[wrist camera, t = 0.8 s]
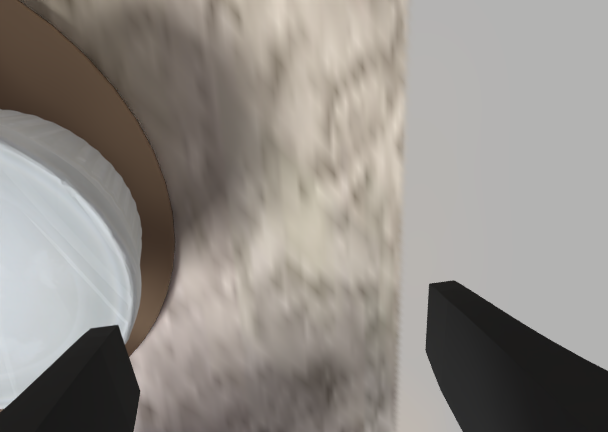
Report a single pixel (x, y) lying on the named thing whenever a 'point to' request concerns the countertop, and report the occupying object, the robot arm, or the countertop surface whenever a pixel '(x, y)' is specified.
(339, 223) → the countertop surface
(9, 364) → the ramekin
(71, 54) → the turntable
